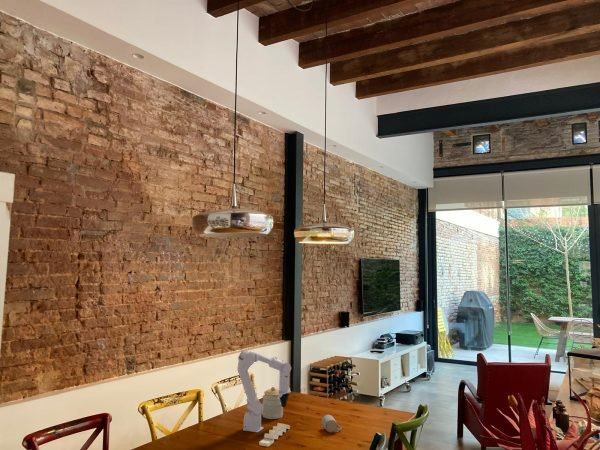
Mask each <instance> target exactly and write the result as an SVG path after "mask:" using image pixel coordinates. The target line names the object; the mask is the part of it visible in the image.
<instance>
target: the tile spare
mask: <svg viewBox="0 0 600 450" xmlns="http://www.w3.org/2000/svg"><path fill="white" fill-rule="evenodd" d="M274 442H275V439H270V438H265V437H263V439H261V440H260V441H259V444H258V445H259V446H262V447H269V446H271V445H272V444H274Z"/></svg>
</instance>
